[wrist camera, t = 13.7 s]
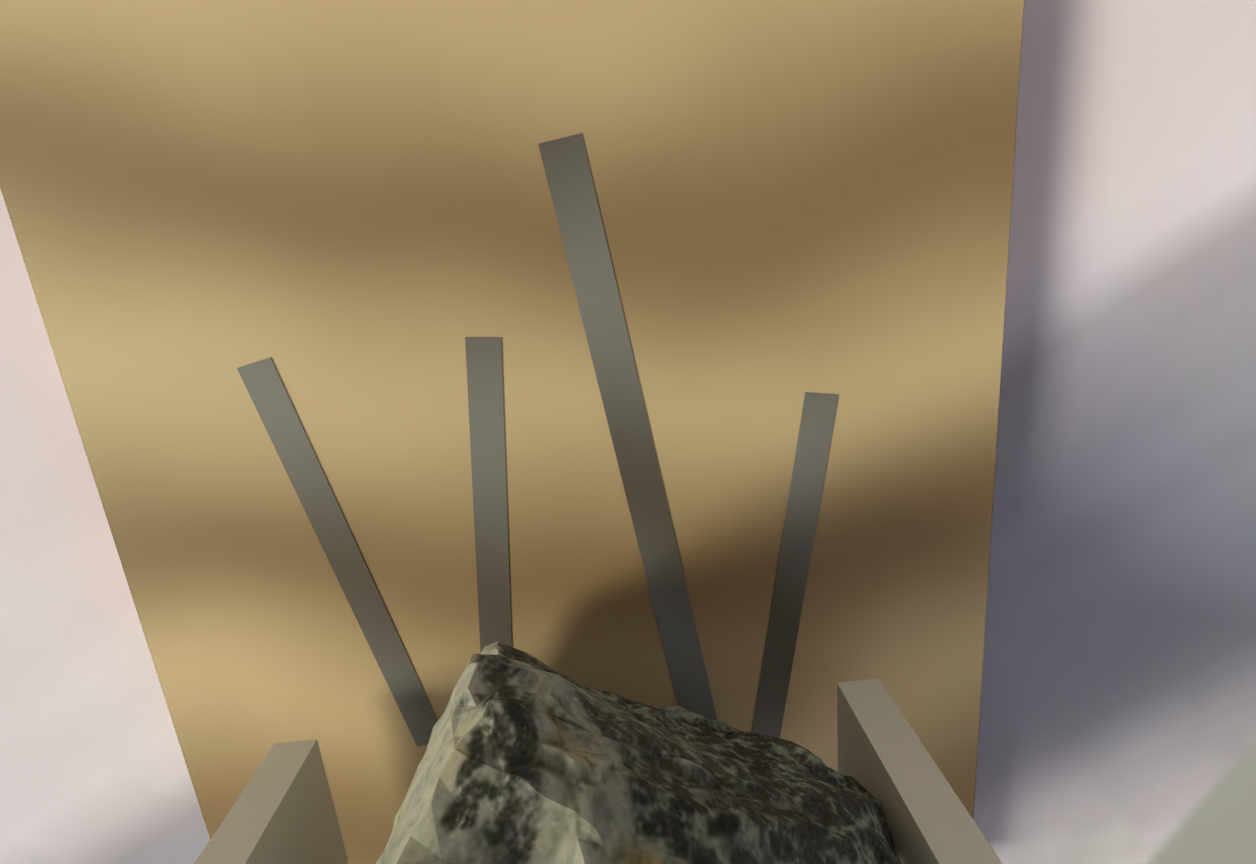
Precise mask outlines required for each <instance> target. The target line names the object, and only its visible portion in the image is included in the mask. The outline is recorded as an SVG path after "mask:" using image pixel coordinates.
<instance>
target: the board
mask: <svg viewBox="0 0 1256 864" xmlns="http://www.w3.org/2000/svg"><path fill="white" fill-rule="evenodd" d="M1023 7H1024V0H0V188H1V191H2V194H3V197H4V201H5V204H6V207H7V210H8V213H9V216H10V219H11V222H12V225H13V228H14V232H15V235H16V238H17V241H18V244H19V247H20V250H21V253H22V256H23V259H24V263H25V266H26V269H27V272H28V275H29V278H30V281H31V284H32V287H33V290H34V294H35V297H36V300H37V303H38V306H39V309H40V312H41V315H42V318H43V321H44V325H45V328H46V331H47V334H48V337H49V340H50V343H51V346H52V349H53V352H54V356H55V359H56V362H57V365H58V368H59V371H60V374H61V377H62V380H63V384H64V387H65V390H66V393H67V396H68V399H69V402H70V405H71V408H72V411H73V415H74V418H75V421H76V424H77V427H78V430H79V433H80V436H81V439H82V442H83V446H84V449H85V452H86V455H87V458H88V461H89V464H90V467H91V470H92V473H93V477H94V480H95V483H96V486H97V489H98V492H99V495H100V498H101V501H102V504H103V508H104V511H105V514H106V517H107V520H108V523H109V526H110V529H111V532H112V535H113V539H114V542H115V545H116V548H117V551H118V554H119V557H120V560H121V563H122V566H123V570H124V573H125V576H126V579H127V582H128V585H129V588H130V591H131V594H132V598H133V601H134V604H135V607H136V610H137V613H138V616H139V619H140V622H141V625H142V629H143V632H144V635H145V638H146V641H147V644H148V647H149V650H150V653H151V656H152V660H153V663H154V666H155V669H156V672H157V675H158V678H159V681H160V684H161V687H162V691H163V694H164V697H165V700H166V703H167V706H168V709H169V712H170V715H171V718H172V722H173V725H174V728H175V731H176V734H177V737H178V740H179V743H180V746H181V749H182V753H183V756H184V759H185V762H186V765H187V768H188V771H189V774H190V777H191V781H192V784H193V787H194V790H195V793H196V796H197V799H198V802H199V805H200V808H201V812H202V815H203V818H204V821H205V824H206V827H207V830H208V833H209V836H210V839H211V838H212V837H213V835H214V834H215V832H216V831H217V829H218V828H219V826H220V825H221V823H222V822H223V820H224V819H225V817H226V815H227V814H228V812H229V811H230V809H231V808H232V806H233V805H234V803H235V802H236V800H237V799H238V797H239V796H240V794H241V793H242V791H243V790H244V788H245V787H246V785H247V784H248V782H249V781H250V779H251V778H252V776H253V775H254V773H255V772H256V770H257V769H258V767H259V766H260V764H261V763H262V761H263V760H264V758H265V757H266V755H267V754H268V752H269V751H270V749H271V747H272V746H273V744H276V743H285V742H294V741H303V740H313V739H317V741H318V744H319V748H320V752H321V756H322V760H323V764H324V768H325V772H326V776H327V779H328V783H329V787H330V791H331V795H332V799H333V803H334V807H335V811H336V814H337V818H338V822H339V826H340V830H341V834H342V838H343V842H344V846H345V849H346V853H347V857H348V862H347V864H376V862H377V861H378V859H379V858H380V856H381V855H382V853H383V852H384V850H385V848H386V845H387V843H388V840H389V838H390V835H391V833H392V830H393V825H394V821H395V816H396V814H397V812H398V810H399V809H400V807H401V805H402V803H403V802H404V800H405V797H406V795H407V792H408V790H409V787H410V785H411V783H412V780H413V778H414V775H415V773H416V770H417V768H418V766H419V764H420V762H421V760H422V759H423V756H424V754H425V752H426V749H427V746H428V743H429V739H430V736H431V733H432V730H433V727H434V725H435V724H436V723H437V721H438V720H439V719H440V717H441V716H442V715H443V713H444V712H445V710H446V707H447V705H448V702H449V700H450V697H451V695H452V692H453V690H454V688H455V686H456V684H457V682H458V681H459V679H460V677H461V675H462V673H463V672H464V670H465V668H466V666H467V664H468V663H469V661H470V659H471V657H472V655H473V654H480V652H481V651H482V650H483V648H484V647H485V646H487V645H490V644H492V643H495V642H497V641H499V642H501V643H504V644H506V645H509V646H511V647H514V648H516V649H519V650H521V651H523V652H526V653H528V654H530V655H532V656H534V657H535V658H537V659H539V660H540V661H542V662H543V663H544V664H546V665H547V666H549V667H550V668H552V669H553V670H555V671H556V672H559V673H561V674H563V675H565V676H567V677H568V678H570V679H572V680H574V681H575V682H577V683H579V684H581V685H583V686H585V687H587V688H589V689H590V690H597V689H603V688H604V689H606V690H609V691H611V692H613V693H615V694H617V695H619V696H621V697H623V698H626V699H628V700H632V701H635V702H639V703H642V704H645V705H648V706H652V707H666V708H668V707H673V706H680V707H682V708H684V709H686V710H688V711H690V712H693V713H696V714H699V715H702V716H704V717H706V718H708V719H711V720H716V721H721V722H723V723H725V724H726V725H728V726H730V727H733V728H735V729H737V730H740V731H744V732H753V733H761V734H765V735H769V736H773V737H777V738H781V739H785V740H789V741H792V742H794V743H796V744H798V745H800V746H802V747H804V748H806V749H807V750H809V751H810V752H812V753H813V754H814V755H816V756H817V757H819V758H820V759H821V760H822V761H823V762H824V763H825V764H826V766H827V767H829V768H831V769H833V770H835V771H837V772H838V753H837V683H839V682H848V681H858V680H867V679H876V678H879V680H880V681H881V683H882V684H883V686H884V687H885V689H886V690H887V692H888V693H889V695H890V696H891V698H892V699H893V701H894V702H895V704H896V705H897V707H898V708H899V710H900V711H901V712H902V714H903V715H904V717H905V718H906V720H907V721H908V723H909V724H910V726H911V727H912V729H913V730H914V732H915V733H916V735H917V736H918V738H919V739H920V741H921V742H922V744H923V745H924V747H925V748H926V750H927V751H928V753H929V754H930V756H931V757H932V759H933V760H934V762H935V763H936V765H937V766H938V768H939V769H940V771H941V772H942V774H943V775H944V777H945V778H946V780H947V781H948V783H949V784H950V786H951V787H952V789H953V790H954V792H955V793H956V795H957V796H958V798H959V799H960V801H961V802H962V804H963V805H964V807H965V808H966V810H967V811H968V813H969V814H970V816H971V817H972V819H973V815H974V798H975V782H976V766H977V750H978V734H979V718H980V701H981V685H982V669H983V653H984V637H985V621H986V605H987V588H988V572H989V556H990V540H991V524H992V508H993V492H994V475H995V459H996V443H997V427H998V411H999V395H1000V378H1001V362H1002V346H1003V330H1004V314H1005V298H1006V282H1007V265H1008V249H1009V233H1010V217H1011V201H1012V185H1013V169H1014V152H1015V136H1016V120H1017V104H1018V88H1019V72H1020V55H1021V39H1022V23H1023Z"/></svg>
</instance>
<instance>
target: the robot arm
mask: <svg viewBox="0 0 1256 864" xmlns="http://www.w3.org/2000/svg"><path fill="white" fill-rule="evenodd" d="M837 753H838V772H839V773H841V774H843V775H846V776H852V777H853V778H854V779H855V780H857V781H858V782H859V783H860V784H861V785H862V786H863V787H864V788H865V789H866V790H867V791H868V792H869V793H870V794H872V795H873V796H874V797H875V798H876V799H878V800H879V801H880V802H881V805H882V809H883V812H884V816H885V820H886V823H887V827H888V830H889V832H890V835H891V838H892V841H893V844H894V847H895V851H896V853H897V856H898V858H899V860H900V862H901V864H1002V862H1001V861H1000V859H999V858H998V856H997V855H996V853H995V852H994V850H993V849H992V847H991V846H990V844H989V843H988V841H987V840H986V838H985V837H984V835H983V834H982V832H981V831H980V829H979V828H978V826H977V825H976V823H975V822H974V820H973V819H972V817H971V816H970V814H969V813H968V811H967V810H966V808H965V807H964V805H963V804H962V802H961V801H960V799H959V798H958V796H957V795H956V793H955V792H954V790H953V789H952V787H951V786H950V784H949V783H948V781H947V780H946V778H945V777H944V775H943V774H942V772H941V771H940V769H939V768H938V766H937V765H936V763H935V762H934V760H933V759H932V757H931V756H930V754H929V753H928V751H927V750H926V748H925V747H924V745H923V744H922V742H921V741H920V739H919V738H918V736H917V735H916V733H915V732H914V730H913V729H912V727H911V726H910V724H909V723H908V721H907V720H906V718H905V717H904V715H903V714H902V712H901V711H900V710H899V708H898V707H897V705H896V704H895V702H894V701H893V699H892V698H891V696H890V695H889V693H888V692H887V690H886V689H885V687H884V686H883V684H882V683H881V681H880V680H879V678H876V679H867V680H858V681H848V682H839V683H837ZM347 862H348V857H347V853H346V849H345V846H344V842H343V838H342V834H341V830H340V826H339V822H338V818H337V814H336V811H335V807H334V803H333V799H332V795H331V791H330V787H329V783H328V779H327V776H326V772H325V768H324V764H323V760H322V756H321V752H320V748H319V744H318V741H317V739H313V740H303V741H294V742H285V743H276V744H273V746H272V747H271V749H270V751H269V752H268V754H267V755H266V757H265V758H264V760H263V761H262V763H261V764H260V766H259V767H258V769H257V770H256V772H255V773H254V775H253V776H252V778H251V779H250V781H249V782H248V784H247V785H246V787H245V788H244V790H243V791H242V793H241V794H240V796H239V797H238V799H237V800H236V802H235V803H234V805H233V806H232V808H231V809H230V811H229V812H228V814H227V815H226V817H225V819H224V820H223V822H222V823H221V825H220V826H219V828H218V829H217V831H216V832H215V834H214V835H213V837H212V838H211V840H210V841H209V843H208V844H207V846H206V847H205V849H204V850H203V852H202V853H201V855H200V856H199V858H198V859H197V861H196V862H195V864H347Z"/></svg>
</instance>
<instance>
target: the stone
mask: <svg viewBox="0 0 1256 864" xmlns="http://www.w3.org/2000/svg"><path fill="white" fill-rule="evenodd" d="M376 864H901V862H900V860H899V858H898V856H897V853H896V851H895V847H894V844H893V841H892V838H891V835H890V832H889V830H888V827H887V823H886V820H885V816H884V812H883V809H882V805H881V802H880V801H879V800H878V799H876V798H875V797H874V796H873V795H872V794H870V793H869V792H868V791H867V790H866V789H865V788H864V787H863V786H862V785H861V784H860V783H859V782H858V781H857V780H855V779H854V778H853V777H852V776H846V775H843V774H841V773H839V772H837V771H835V770H833V769H831V768H829V767H827V766H826V764H825V763H824V762H823V761H822V760H821V759H820V758H819V757H817V756H816V755H814V754H813V753H812V752H810V751H809V750H807V749H806V748H804V747H802V746H800V745H798V744H796V743H794V742H792V741H789V740H785V739H781V738H777V737H773V736H769V735H765V734H761V733H753V732H744V731H740V730H737V729H735V728H733V727H730V726H728V725H726V724H725V723H723V722H721V721H716V720H711V719H708V718H706V717H704V716H702V715H699V714H696V713H693V712H690V711H688V710H686V709H684V708H682V707H680V706H673V707H668V708H666V707H652V706H648V705H645V704H642V703H639V702H635V701H632V700H628V699H626V698H623V697H621V696H619V695H617V694H615V693H613V692H611V691H609V690H606V689H604V688H603V689H597V690H590V689H589V688H587V687H585V686H583V685H581V684H579V683H577V682H575V681H574V680H572V679H570V678H568V677H567V676H565V675H563V674H561V673H559V672H556V671H555V670H553V669H552V668H550V667H549V666H547V665H546V664H544V663H543V662H542V661H540V660H539V659H537V658H535V657H534V656H532V655H530V654H528V653H526V652H523V651H521V650H519V649H516V648H514V647H511V646H509V645H506V644H504V643H501V642H499V641H497V642H495V643H492V644H490V645H487V646H485V647H484V648H483V650H482V651H481V652H480V654H473V655H472V657H471V659H470V661H469V663H468V664H467V666H466V668H465V670H464V672H463V673H462V675H461V677H460V679H459V681H458V682H457V684H456V686H455V688H454V690H453V692H452V695H451V697H450V700H449V702H448V705H447V707H446V710H445V712H444V713H443V715H442V716H441V717H440V719H439V720H438V721H437V723H436V724H435V725H434V727H433V730H432V733H431V736H430V739H429V743H428V746H427V749H426V752H425V754H424V756H423V759H422V760H421V762H420V764H419V766H418V768H417V770H416V773H415V775H414V778H413V780H412V783H411V785H410V787H409V790H408V792H407V795H406V797H405V800H404V802H403V803H402V805H401V807H400V809H399V810H398V812H397V814H396V816H395V821H394V825H393V830H392V833H391V835H390V838H389V840H388V843H387V845H386V848H385V850H384V852H383V853H382V855H381V856H380V858H379V859H378V861H377V862H376Z"/></svg>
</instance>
